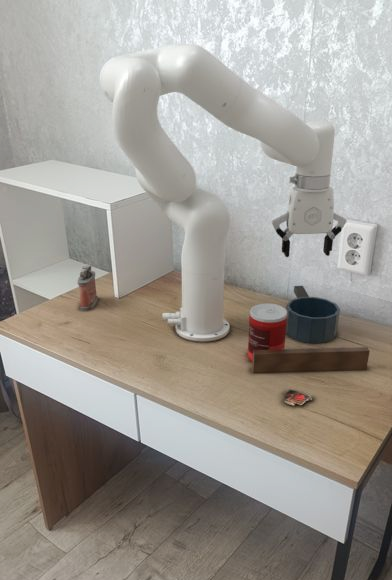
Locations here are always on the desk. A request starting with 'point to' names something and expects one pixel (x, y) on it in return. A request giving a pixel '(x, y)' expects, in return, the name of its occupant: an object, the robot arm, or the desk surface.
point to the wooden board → (310, 359)
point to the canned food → (266, 328)
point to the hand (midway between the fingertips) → (306, 254)
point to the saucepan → (311, 318)
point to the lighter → (87, 288)
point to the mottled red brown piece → (296, 397)
